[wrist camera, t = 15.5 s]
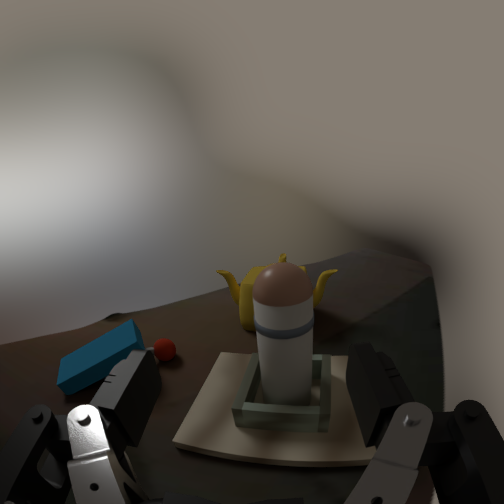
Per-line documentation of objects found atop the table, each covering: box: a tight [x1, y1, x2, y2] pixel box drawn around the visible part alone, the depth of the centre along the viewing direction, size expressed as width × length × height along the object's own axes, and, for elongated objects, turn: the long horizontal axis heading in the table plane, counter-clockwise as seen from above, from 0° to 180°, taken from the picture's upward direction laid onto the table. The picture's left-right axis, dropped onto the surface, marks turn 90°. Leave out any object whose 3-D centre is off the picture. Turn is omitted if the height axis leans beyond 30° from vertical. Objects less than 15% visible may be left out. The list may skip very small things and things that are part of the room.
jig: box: [173, 352, 376, 467], centre depth 26 cm, size 20×16×4 cm
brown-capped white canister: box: [252, 262, 314, 406], centre depth 24 cm, size 5×5×16 cm
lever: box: [57, 319, 176, 395], centre depth 34 cm, size 7×7×18 cm
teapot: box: [216, 254, 338, 331], centre depth 45 cm, size 15×14×10 cm
